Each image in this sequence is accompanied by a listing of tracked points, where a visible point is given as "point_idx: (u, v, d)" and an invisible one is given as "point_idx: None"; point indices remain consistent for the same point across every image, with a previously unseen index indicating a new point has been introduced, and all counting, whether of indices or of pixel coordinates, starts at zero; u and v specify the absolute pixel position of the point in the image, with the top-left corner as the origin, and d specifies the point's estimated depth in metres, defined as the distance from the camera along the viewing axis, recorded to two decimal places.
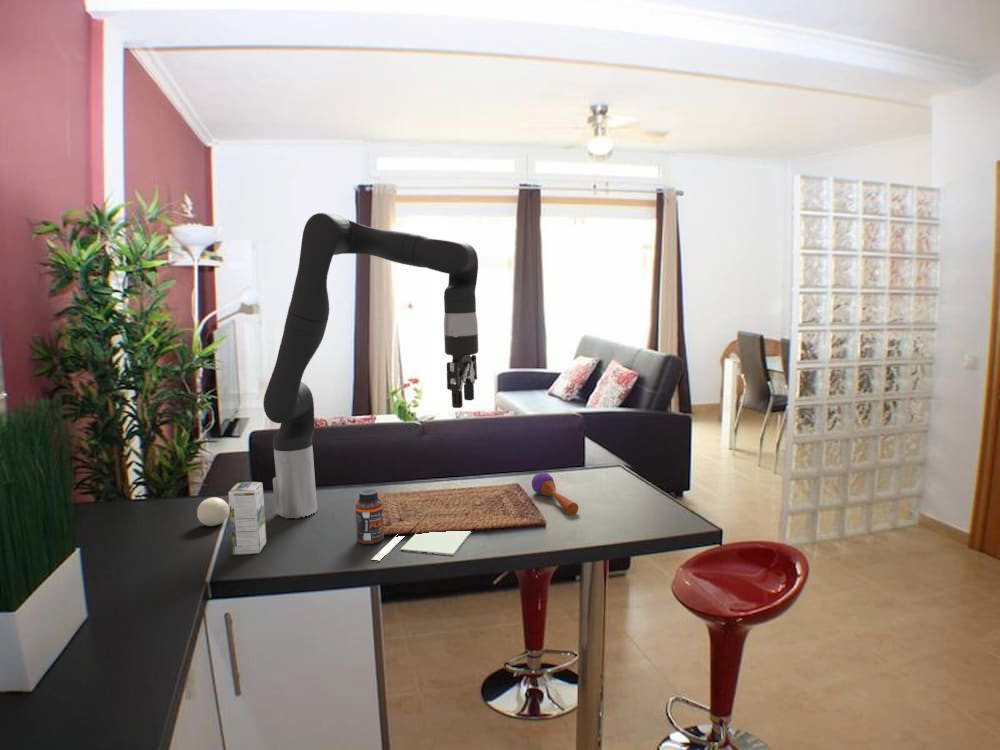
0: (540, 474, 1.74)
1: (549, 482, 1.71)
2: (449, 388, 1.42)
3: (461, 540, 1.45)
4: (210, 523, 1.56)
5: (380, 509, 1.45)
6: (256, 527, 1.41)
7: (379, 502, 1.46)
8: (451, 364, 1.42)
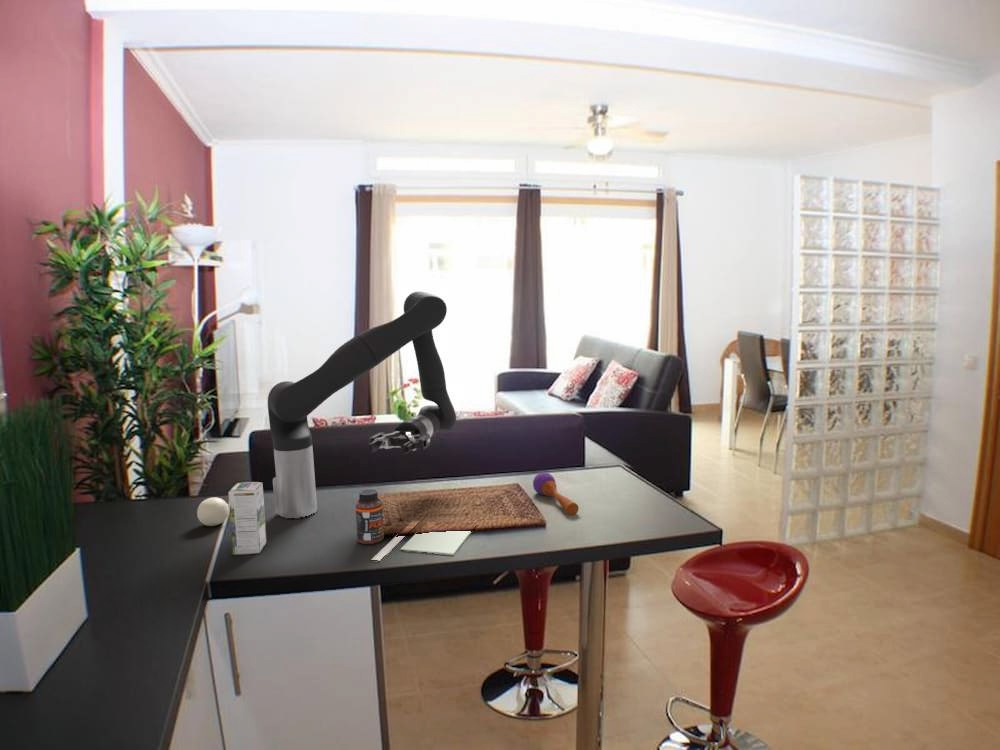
0: (541, 474, 1.74)
1: (550, 482, 1.71)
2: (422, 442, 1.58)
3: (461, 540, 1.45)
4: (210, 523, 1.56)
5: (380, 509, 1.45)
6: (256, 527, 1.41)
7: (379, 502, 1.46)
8: (429, 438, 1.63)
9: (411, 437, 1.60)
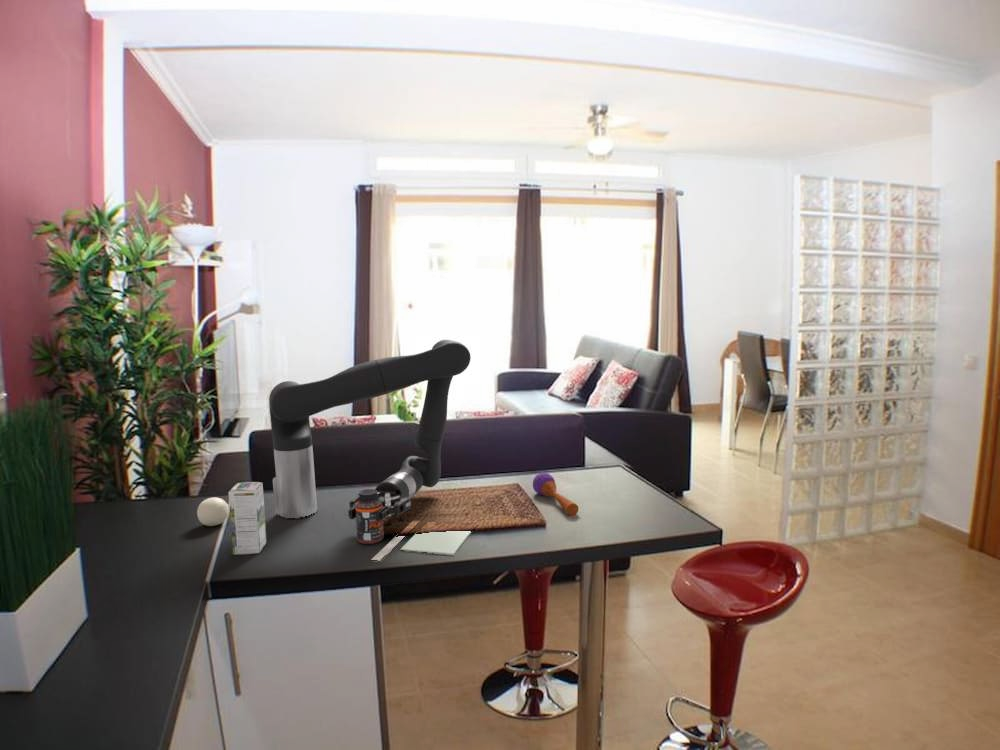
0: (541, 474, 1.73)
1: (550, 482, 1.71)
2: (397, 507, 1.47)
3: (461, 540, 1.45)
4: (210, 523, 1.56)
5: None
6: (256, 527, 1.41)
7: (379, 502, 1.46)
8: (410, 502, 1.52)
9: (388, 501, 1.49)
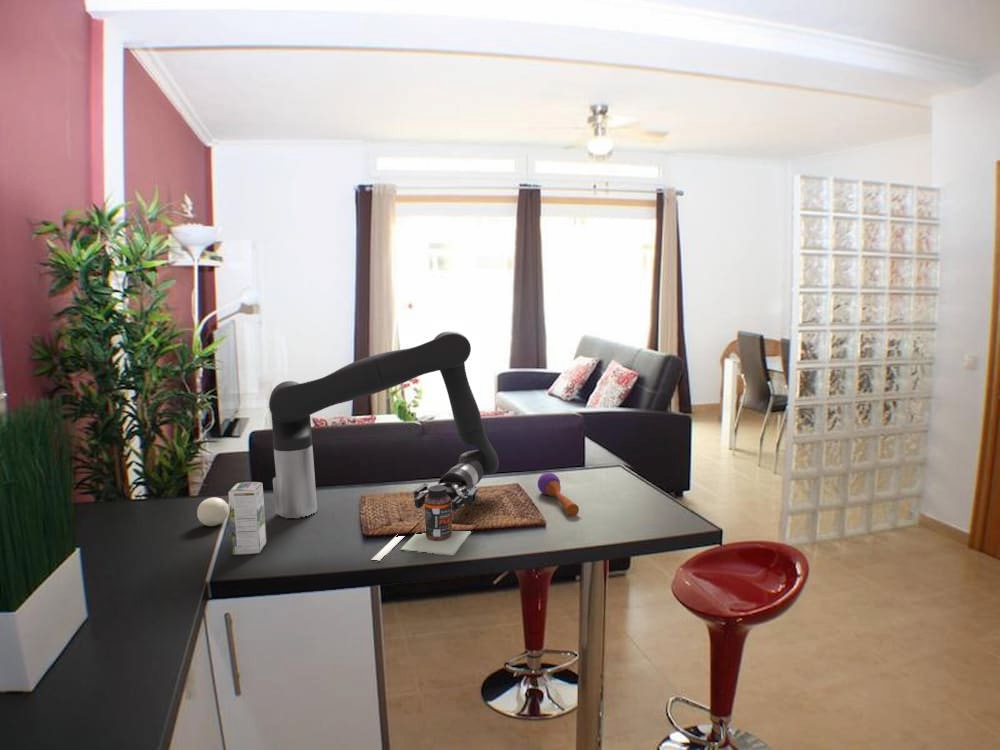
0: (546, 474, 1.73)
1: (554, 482, 1.70)
2: (471, 497, 1.47)
3: (461, 540, 1.45)
4: (210, 523, 1.56)
5: (449, 505, 1.45)
6: (256, 527, 1.41)
7: (448, 498, 1.46)
8: (477, 491, 1.52)
9: (459, 491, 1.49)
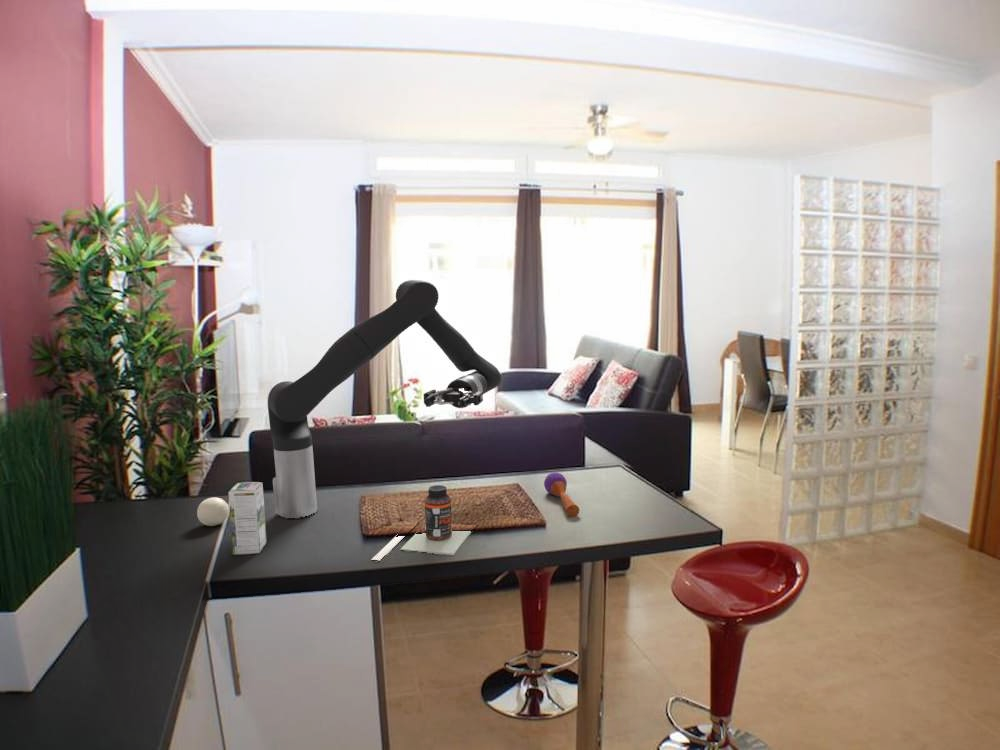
0: (552, 474, 1.73)
1: (559, 482, 1.70)
2: (477, 397, 1.60)
3: (461, 540, 1.45)
4: (210, 523, 1.56)
5: (449, 505, 1.45)
6: (256, 527, 1.41)
7: (448, 498, 1.46)
8: (482, 395, 1.65)
9: (465, 393, 1.62)
